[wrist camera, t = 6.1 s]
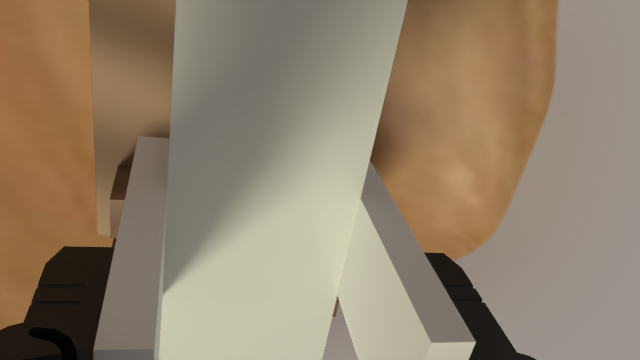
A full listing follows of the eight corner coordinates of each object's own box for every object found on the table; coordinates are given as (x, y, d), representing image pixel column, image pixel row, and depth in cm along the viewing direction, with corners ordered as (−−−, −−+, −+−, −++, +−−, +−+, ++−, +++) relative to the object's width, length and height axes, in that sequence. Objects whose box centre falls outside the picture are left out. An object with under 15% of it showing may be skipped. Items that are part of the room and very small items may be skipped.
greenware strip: (277, 365, 20) (295, 471, 16) (161, 369, 19) (153, 483, 15) (374, -151, 12) (444, -154, 9) (189, -192, 11) (186, -214, 8)
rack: (84, -261, 19) (33, -314, 13) (409, -187, 22) (489, -203, 16) (100, 223, 28) (75, 321, 22) (325, 229, 31) (356, 316, 25)
